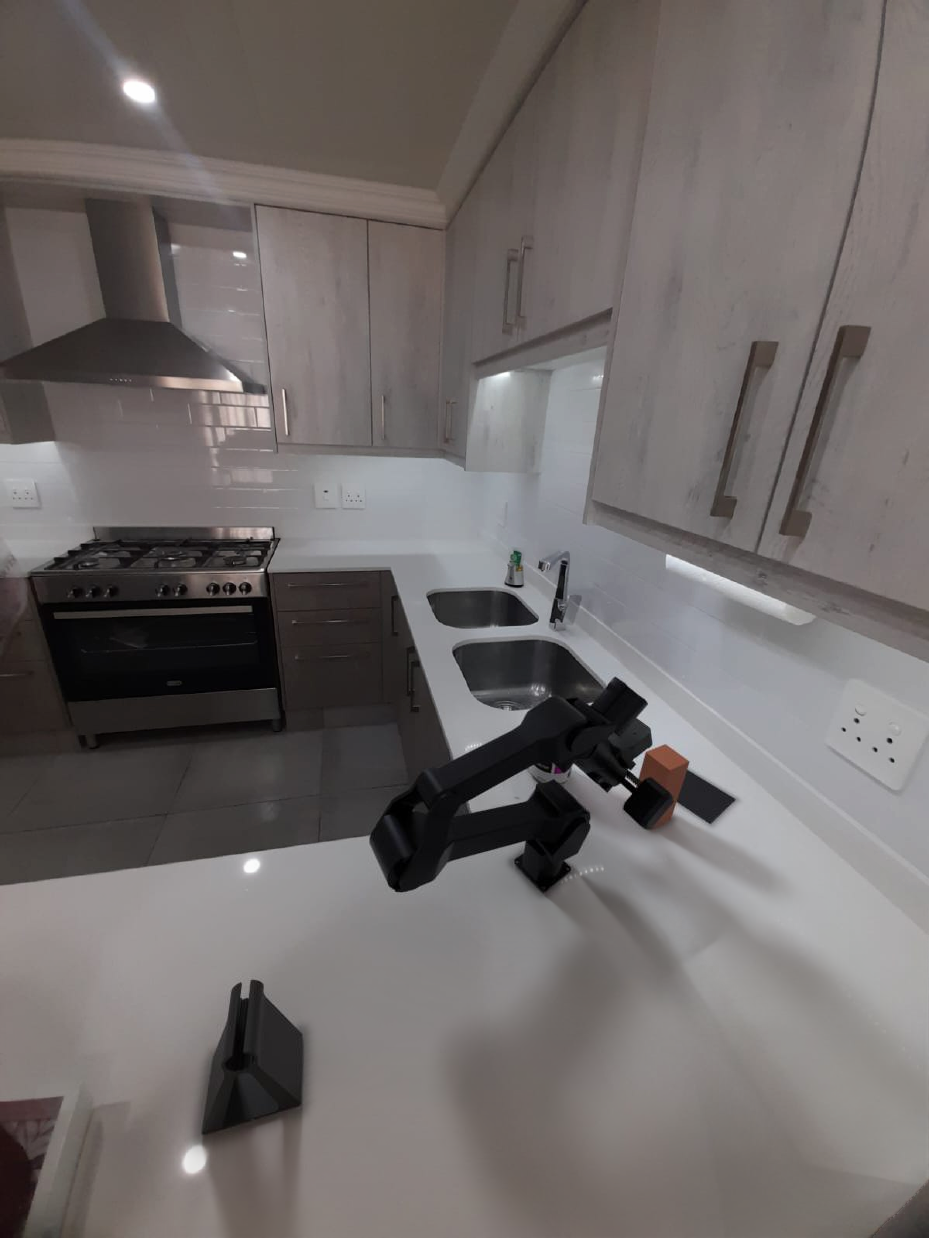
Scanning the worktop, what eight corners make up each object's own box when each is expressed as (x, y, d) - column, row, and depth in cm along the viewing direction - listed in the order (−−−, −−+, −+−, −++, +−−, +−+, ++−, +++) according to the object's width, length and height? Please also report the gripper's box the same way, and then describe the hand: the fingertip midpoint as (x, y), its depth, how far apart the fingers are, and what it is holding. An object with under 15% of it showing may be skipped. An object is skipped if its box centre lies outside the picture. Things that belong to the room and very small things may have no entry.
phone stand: (303, 1036, 54) (294, 969, 49) (301, 1105, 48) (291, 1039, 43) (213, 1059, 51) (195, 991, 46) (201, 1135, 46) (179, 1068, 41)
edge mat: (709, 823, 86) (710, 823, 86) (649, 783, 94) (649, 782, 94) (735, 799, 92) (735, 798, 92) (676, 763, 100) (676, 762, 100)
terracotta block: (651, 829, 84) (669, 770, 78) (629, 809, 88) (645, 751, 82) (671, 819, 86) (690, 761, 81) (648, 800, 90) (665, 743, 85)
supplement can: (567, 760, 99) (579, 697, 92) (571, 789, 91) (585, 723, 85) (527, 755, 99) (537, 693, 93) (528, 784, 92) (538, 718, 86)
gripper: (682, 749, 63) (712, 788, 73) (584, 679, 77) (620, 720, 87) (626, 815, 62) (664, 846, 72) (538, 732, 77) (579, 767, 87)
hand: (630, 788), depth 79 cm, fingers open, 9 cm apart
